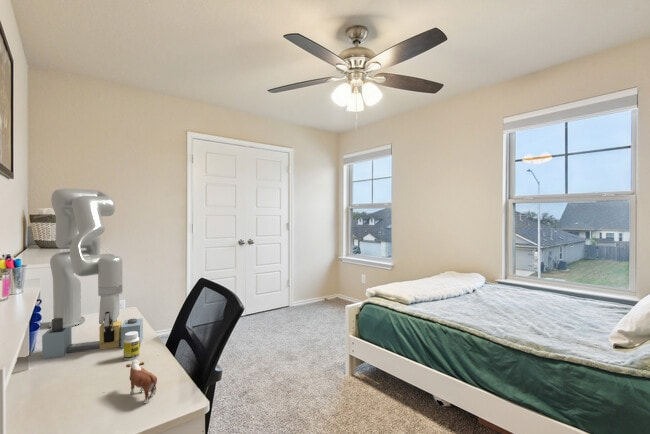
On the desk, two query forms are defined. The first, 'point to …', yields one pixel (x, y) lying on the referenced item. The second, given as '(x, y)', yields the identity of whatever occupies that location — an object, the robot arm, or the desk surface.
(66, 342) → the frame
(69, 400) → the desk surface
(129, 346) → the supplement bottle
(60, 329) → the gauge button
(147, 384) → the bull figurine
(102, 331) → the block
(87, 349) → the rail
